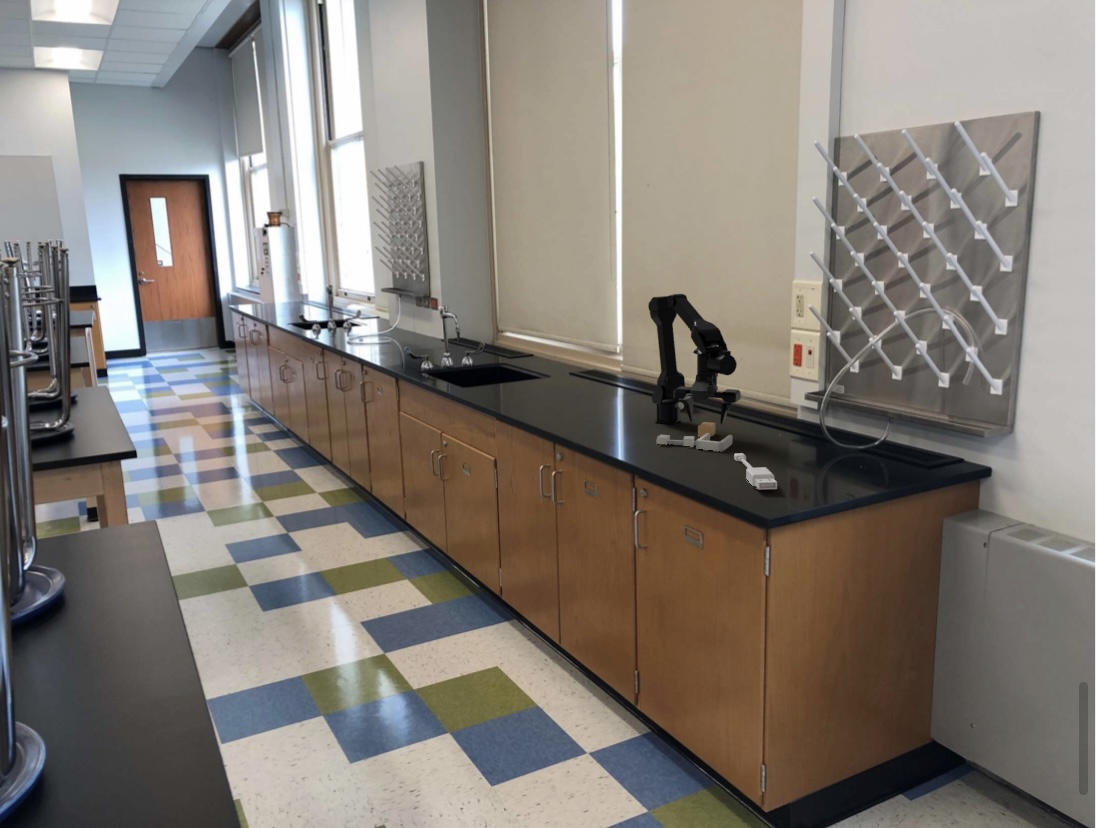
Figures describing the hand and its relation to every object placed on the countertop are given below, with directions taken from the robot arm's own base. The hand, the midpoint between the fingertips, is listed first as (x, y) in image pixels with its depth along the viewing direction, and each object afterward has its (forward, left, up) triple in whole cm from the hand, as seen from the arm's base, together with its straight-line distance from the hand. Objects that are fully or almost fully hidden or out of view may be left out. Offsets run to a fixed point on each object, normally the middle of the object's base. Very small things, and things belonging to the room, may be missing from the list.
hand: (706, 422), depth 252 cm
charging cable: (+23, -35, -4) cm, 42 cm away
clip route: (-4, -14, -4) cm, 15 cm away
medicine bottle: (-23, +35, -4) cm, 42 cm away
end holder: (+6, -12, -4) cm, 14 cm away
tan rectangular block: (0, 0, -4) cm, 4 cm away
